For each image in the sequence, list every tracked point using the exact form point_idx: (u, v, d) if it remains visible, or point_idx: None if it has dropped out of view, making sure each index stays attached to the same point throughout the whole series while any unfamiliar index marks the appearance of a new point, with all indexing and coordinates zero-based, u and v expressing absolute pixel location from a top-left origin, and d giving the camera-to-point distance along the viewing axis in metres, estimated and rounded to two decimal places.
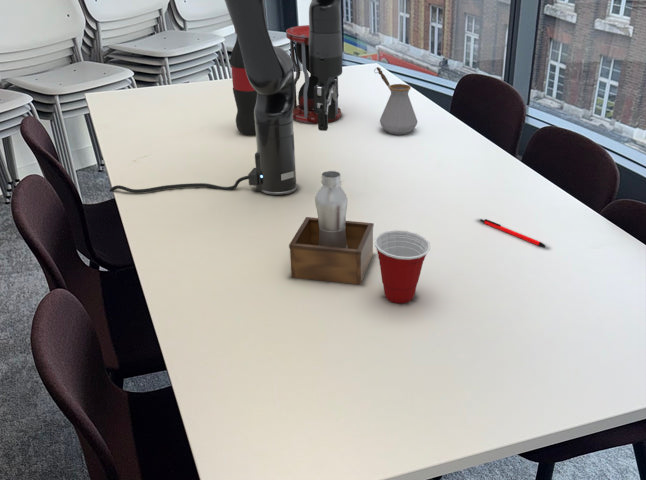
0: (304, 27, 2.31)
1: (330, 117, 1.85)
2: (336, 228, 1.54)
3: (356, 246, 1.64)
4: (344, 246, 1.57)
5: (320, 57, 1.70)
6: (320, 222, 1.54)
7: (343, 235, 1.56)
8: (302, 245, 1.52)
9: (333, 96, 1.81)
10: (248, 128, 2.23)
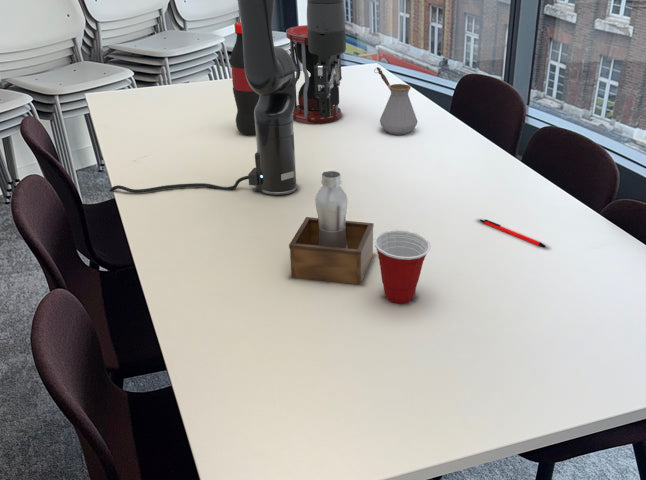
0: (304, 27, 2.31)
1: (333, 103, 1.62)
2: (336, 228, 1.54)
3: (356, 246, 1.64)
4: (344, 246, 1.57)
5: (320, 31, 1.47)
6: (320, 222, 1.54)
7: (343, 235, 1.56)
8: (302, 245, 1.52)
9: (336, 78, 1.58)
10: (248, 128, 2.23)
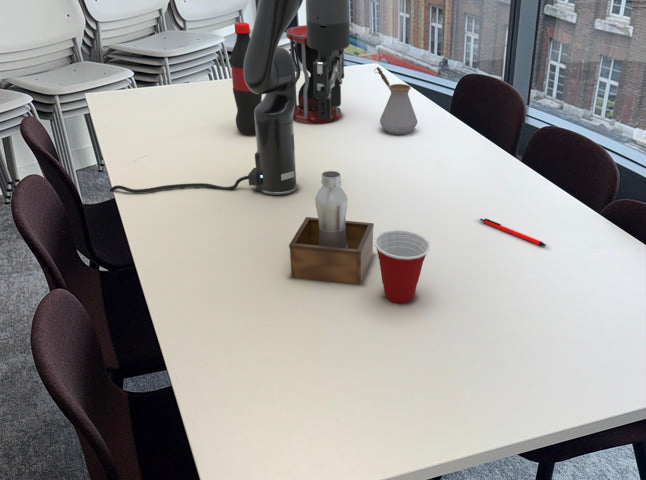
0: (304, 27, 2.31)
1: (334, 103, 1.45)
2: (336, 228, 1.54)
3: (356, 246, 1.64)
4: (344, 246, 1.57)
5: (321, 23, 1.30)
6: (320, 222, 1.54)
7: (343, 235, 1.56)
8: (302, 245, 1.52)
9: (337, 76, 1.41)
10: (248, 128, 2.23)
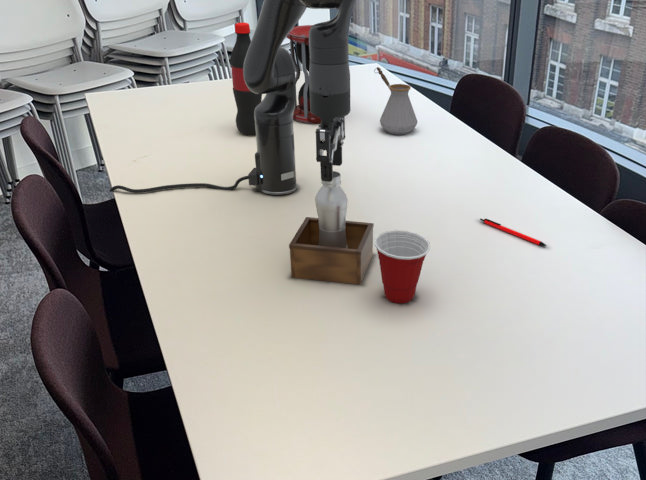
0: (304, 27, 2.31)
1: (335, 163, 1.52)
2: (336, 228, 1.54)
3: (356, 246, 1.64)
4: (344, 246, 1.57)
5: (323, 93, 1.37)
6: (320, 222, 1.54)
7: (343, 235, 1.56)
8: (302, 245, 1.52)
9: (339, 138, 1.48)
10: (248, 128, 2.23)
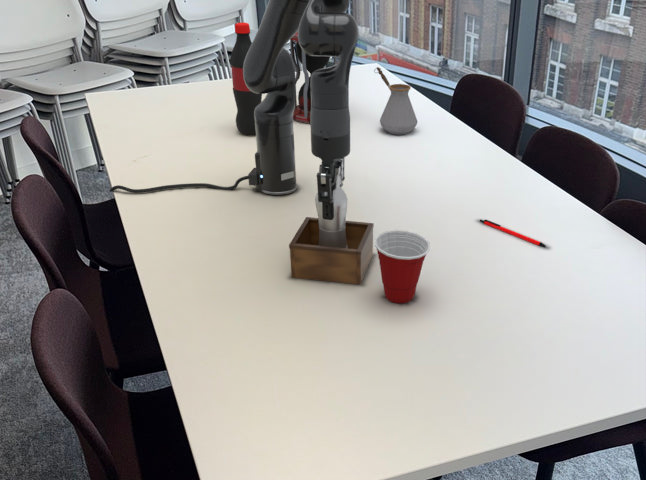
0: None
1: None
2: (336, 228, 1.54)
3: (356, 246, 1.64)
4: (344, 246, 1.57)
5: (324, 136, 1.41)
6: (320, 222, 1.54)
7: (343, 235, 1.56)
8: (302, 245, 1.52)
9: None
10: (248, 128, 2.23)
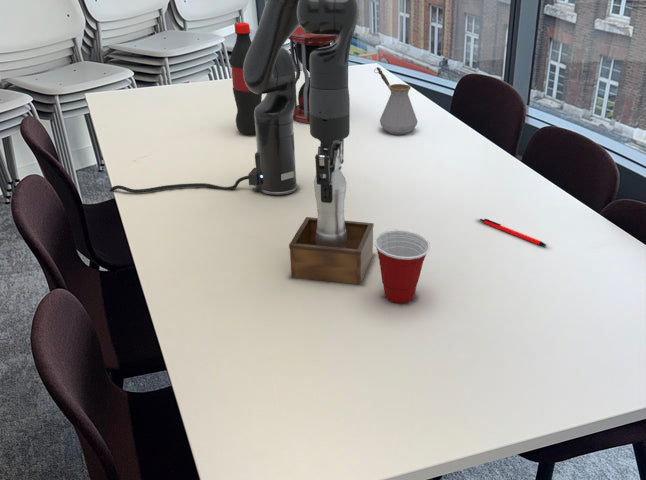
0: None
1: None
2: (335, 211, 1.52)
3: (356, 246, 1.64)
4: (343, 230, 1.55)
5: (323, 117, 1.39)
6: (318, 205, 1.52)
7: (342, 219, 1.54)
8: (302, 245, 1.52)
9: None
10: (248, 128, 2.23)
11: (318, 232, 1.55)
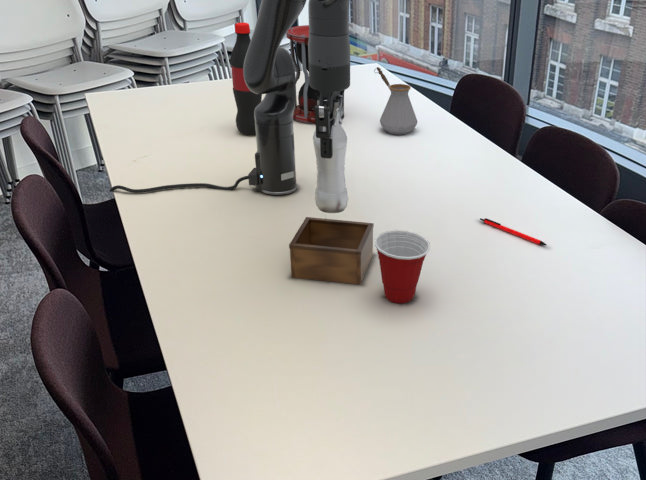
0: (304, 27, 2.31)
1: None
2: (335, 168, 1.46)
3: (356, 246, 1.64)
4: (343, 188, 1.50)
5: (322, 66, 1.34)
6: (318, 162, 1.47)
7: (342, 176, 1.49)
8: (302, 245, 1.52)
9: None
10: (248, 128, 2.23)
11: (318, 190, 1.50)
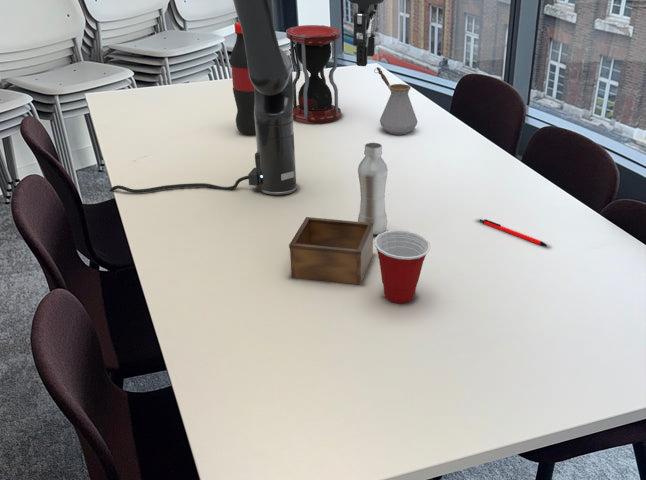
0: (304, 27, 2.31)
1: (368, 54, 1.67)
2: (377, 196, 1.67)
3: (356, 246, 1.64)
4: (383, 213, 1.71)
5: None
6: (362, 190, 1.67)
7: (383, 202, 1.69)
8: (302, 245, 1.52)
9: (372, 29, 1.63)
10: (248, 128, 2.23)
11: (361, 215, 1.71)
